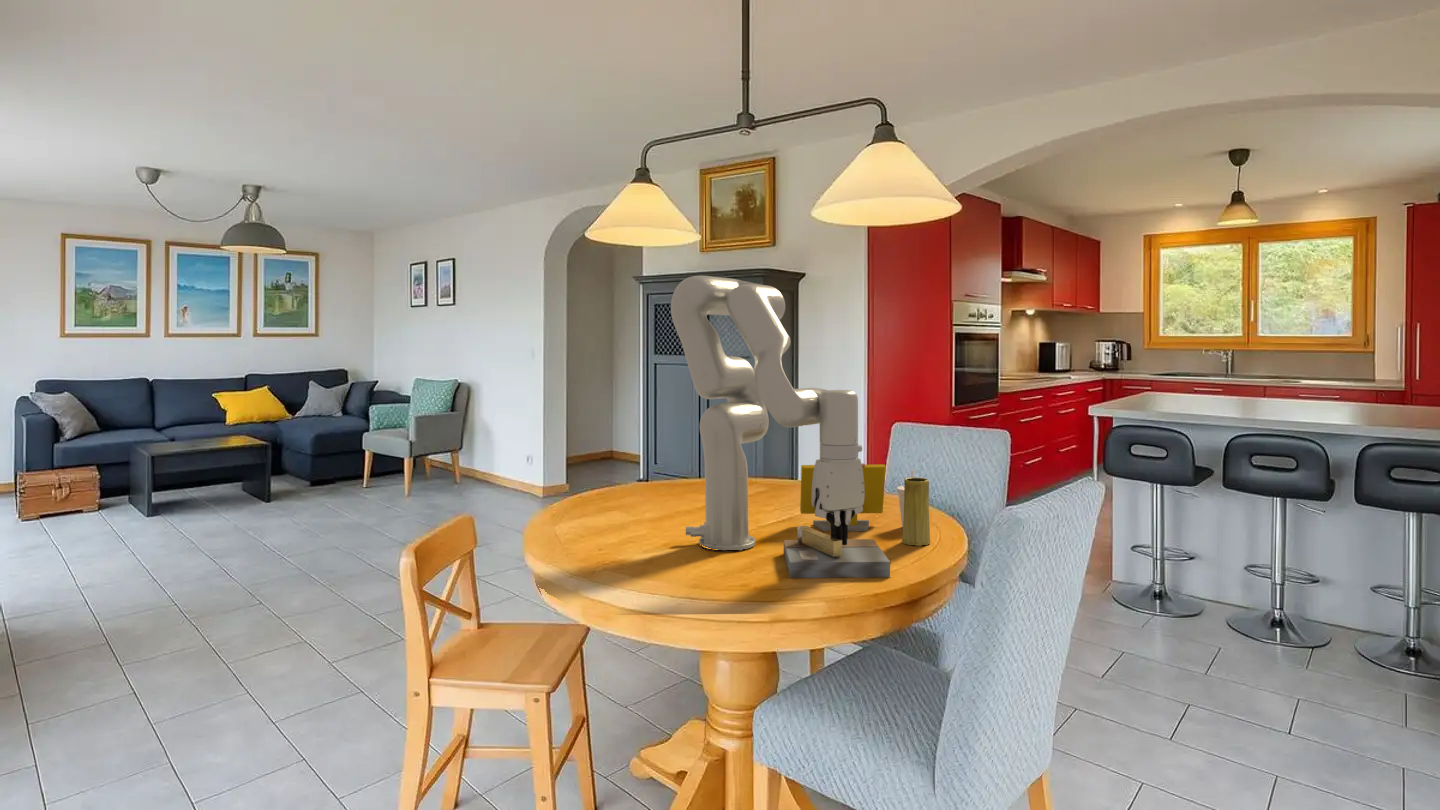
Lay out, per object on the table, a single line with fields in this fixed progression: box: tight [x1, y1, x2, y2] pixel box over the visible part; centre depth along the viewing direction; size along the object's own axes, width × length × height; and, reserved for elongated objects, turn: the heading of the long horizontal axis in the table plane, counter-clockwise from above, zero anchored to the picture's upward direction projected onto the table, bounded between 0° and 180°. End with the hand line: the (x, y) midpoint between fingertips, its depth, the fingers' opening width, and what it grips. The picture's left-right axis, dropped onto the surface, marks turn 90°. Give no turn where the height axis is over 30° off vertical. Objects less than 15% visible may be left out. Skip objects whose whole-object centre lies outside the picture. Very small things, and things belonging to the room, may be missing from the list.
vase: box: [901, 477, 931, 547], centre depth 171 cm, size 6×6×14 cm
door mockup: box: [783, 538, 891, 579], centre depth 155 cm, size 19×17×3 cm
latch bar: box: [796, 525, 842, 557], centre depth 155 cm, size 14×3×3 cm, turn 25°
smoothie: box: [896, 469, 914, 528], centre depth 185 cm, size 6×6×14 cm
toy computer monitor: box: [799, 462, 887, 532], centre depth 186 cm, size 20×8×16 cm, turn 88°
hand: (839, 543), depth 154 cm, fingers closed
